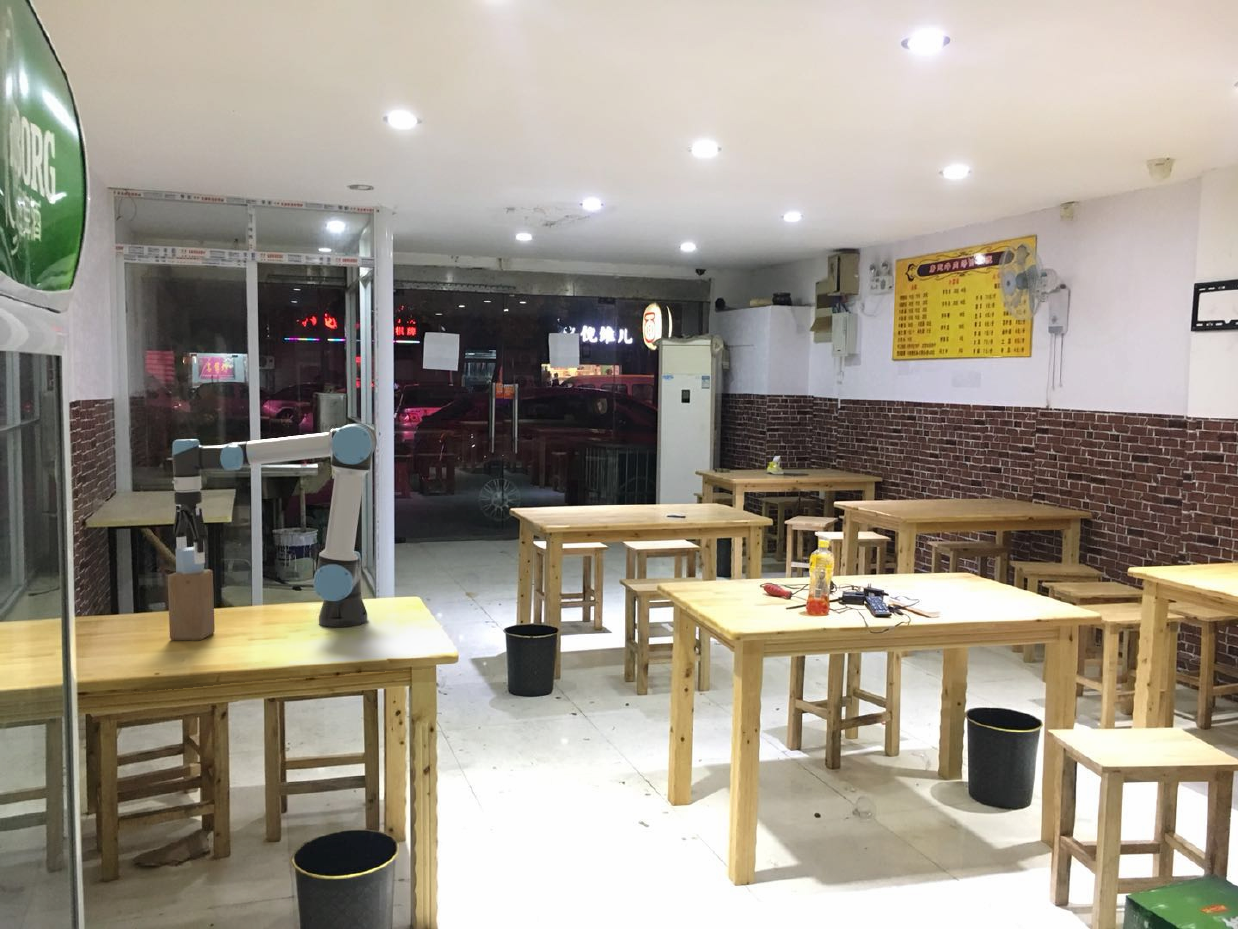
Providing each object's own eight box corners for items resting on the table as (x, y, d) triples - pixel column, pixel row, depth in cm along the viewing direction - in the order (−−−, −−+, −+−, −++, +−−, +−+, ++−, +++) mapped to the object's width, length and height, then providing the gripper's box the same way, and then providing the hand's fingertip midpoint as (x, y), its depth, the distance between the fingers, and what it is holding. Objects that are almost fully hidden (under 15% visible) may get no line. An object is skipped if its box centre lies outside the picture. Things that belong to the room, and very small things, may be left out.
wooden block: (201, 641, 290) (199, 574, 289) (168, 641, 291) (166, 574, 289) (216, 632, 300) (214, 568, 299) (183, 632, 301) (181, 568, 299)
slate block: (196, 569, 298) (195, 546, 298) (204, 571, 294) (203, 548, 293) (176, 571, 294) (175, 548, 293) (183, 574, 290) (183, 551, 289)
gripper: (159, 488, 298) (162, 557, 300) (191, 494, 281) (194, 567, 282) (184, 487, 304) (187, 554, 305) (217, 492, 286) (220, 564, 288)
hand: (190, 560), depth 294 cm, fingers open, 13 cm apart
